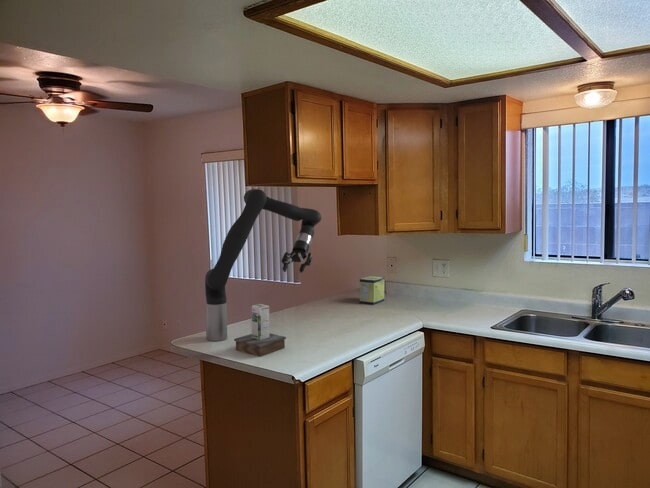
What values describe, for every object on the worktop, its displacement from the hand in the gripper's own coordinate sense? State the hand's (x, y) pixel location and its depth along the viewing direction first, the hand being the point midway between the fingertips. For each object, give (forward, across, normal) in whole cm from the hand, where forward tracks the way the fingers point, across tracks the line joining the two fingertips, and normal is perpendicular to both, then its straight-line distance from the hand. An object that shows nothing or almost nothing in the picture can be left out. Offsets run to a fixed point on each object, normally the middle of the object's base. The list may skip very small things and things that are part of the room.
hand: (292, 271), depth 226 cm
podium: (+37, -7, +8) cm, 38 cm away
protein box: (-42, +8, +91) cm, 100 cm away
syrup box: (+33, -6, +5) cm, 34 cm away
